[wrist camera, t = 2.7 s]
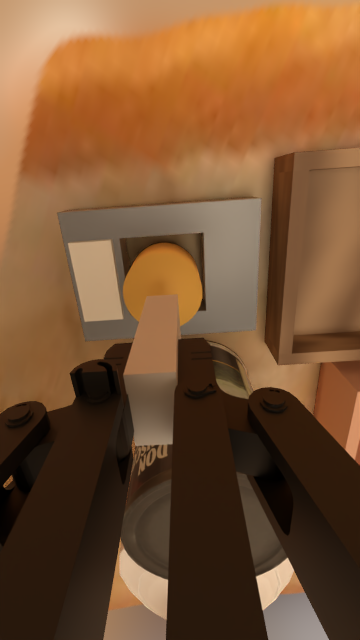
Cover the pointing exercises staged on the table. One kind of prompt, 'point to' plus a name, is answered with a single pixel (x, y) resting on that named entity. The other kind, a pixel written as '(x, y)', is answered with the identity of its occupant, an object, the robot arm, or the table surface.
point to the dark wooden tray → (315, 258)
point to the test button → (163, 280)
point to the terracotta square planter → (340, 403)
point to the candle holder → (156, 588)
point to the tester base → (156, 220)
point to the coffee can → (155, 492)
